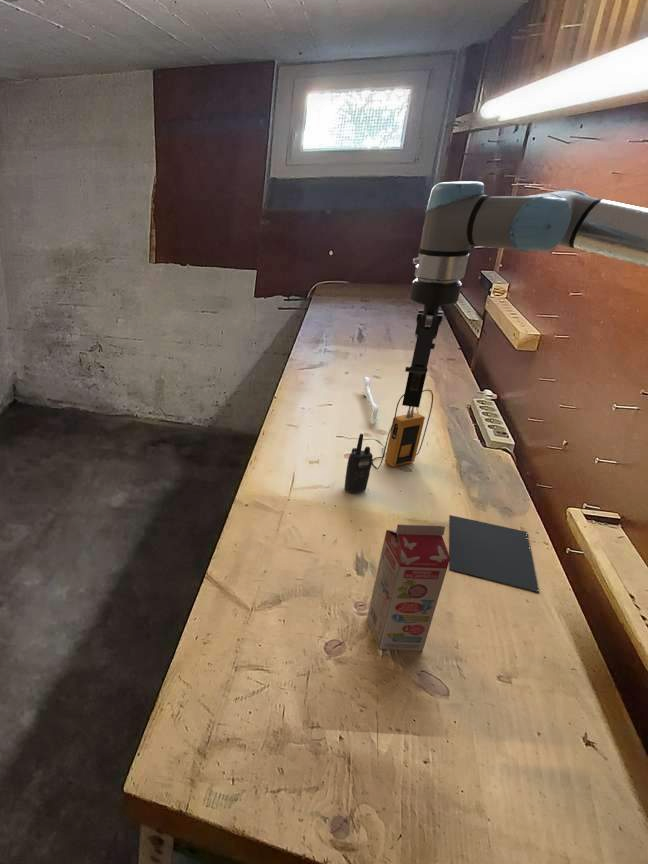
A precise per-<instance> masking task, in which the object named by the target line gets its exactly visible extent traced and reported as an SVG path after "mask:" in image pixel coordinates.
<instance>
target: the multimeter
mask: <svg viewBox="0 0 648 864" xmlns="http://www.w3.org/2000/svg"><path fill="white" fill-rule="evenodd" d="M426 391H428V392H430V394H431V403H430V409H429V413H428V417H427V421H426V425H425V428H423V427H424V423H425V419H426V416H424V415H422V414H420V413H417V412H415V407H411V406H408V410H407V413H406V414H403V415H402V414H401V415H397V411H398V407H399V404H400V402H401V400H402V398H404V394H402V395H401V396H400V398H399V399H398V402H397V404H396V407H395V413H394V417H393V418H392V423H391V426H390V429H389V430H388V434H387V437H386V441H385V445H384V446H385V447H384V446H382V448H381V450H382V451H381V452H382V456H377V457H374V458H372V464H371V466H372V467H374V468H375V469H377V470H378V469H380V467H381V466H382V463H383V460H384V463H386V464H387V465H389V466H390V467H392V468H396V467H398V466H402V465H407V464H412V463H414V462H415V461H416V456H418V455H419V454H420V451H421V448H422V445H423V444H424V443H423V442H424V439H425V436H426V432H427V429H428V425H429V421H430V417H431V413H432V410H433V404H434V394H433V391H432V390H431V389H423V391H422V393H424V392H426ZM423 429H424V432H423V434H422V431H423ZM421 435H423V436H422V438H421ZM420 440H421V443H420ZM419 444H420V445H419ZM376 459H381V460H380V464H379V466H378V467H377V466H375V465H374V463H373V462H374V460H376Z"/></svg>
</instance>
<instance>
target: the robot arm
mask: <svg viewBox="0 0 648 864" xmlns="http://www.w3.org/2000/svg"><path fill="white" fill-rule="evenodd" d="M424 214H425V216H424V223H423V228H422V235H421V239H420V245H419V249H418V256H417V257H414V258H413V259H412V264H414V265H415V270H414V274H413V275H414V277H416V278H414V280H412V283H411V288H410V292H409V300H410V301H411V302H412V303H415V304H418V305H420V304H422V305H423V309H418V311H417V315H416V319H415V324H416V326H415V332H414V337H415V338H416V340H415V346H414V349H413V354H412V360H411V365H410V366H405V368H404V369H405V370H404V372H405V373H408V374H407V379H406V383H405V389H404V394H403V395H404V396H403V397H402V398H403V399H402V405H401V406H404V407H409V406H411V408H412V407H414V408H417V409H418V408H420V404H421V400H422V397H423V396H422V395H423V392H422V391H424V387H425V383H426V382H425V381H426V378H427V373H428V371H429V368H428V365H429V361H430V356H431V352H432V350H435V346H436V343H434V340H436V338H437V337H438V333H439V328H440V326H441V324H442V321H443V314H444V311H442V310H441V311H439V309H440V307H441V306H452V305H456V304H457V303H458V302H459V298H460V294H461V289H462V285H463V283H462V282H461V281H460V280H462V279H463V278H465V275H466V269H467V266H468V262H469V261H468V260H469V257H470V252H471V251H470V250H471V247H486V248H494V249H495V248H497V249H507V250H517V251H520V252H526V253H527V252H531V251H532V252H548V251H551V250H553V249H555V248H556V247H557V246H563V247H567V248H571V249H575V250H580V251H583V252H587V253H591V254H595V255H599V256H602V257H606V258H610V259H612V260H613V259H614V260H617V261H621V262H625V263H629V264H632V265H636V266H640V267H643V268H647V269H648V207H643V206H637V205H631V204H626V203H622V202H617V201H614V200H613V201H612V200H608V199H601V198H597V197H592V196H589V195H588V194H586V193H585V192H583V191H579V190H574V189H573V190H572V189H561V190H555V191H552V192H551V191H550V192H545V193H539V194H531V195H523V196H521V195H520V196H517V195H516V196H515V195H514V196H513V195H512V196H511V195H510V196H507V195H506V196H504V195H503V196H500V195H499V196H494V195H487V194H485V184H484V182H481V181H444V182H439V183H437V184H435V185H434V186H433V187H432V189H431V192H430V196H429V199H428V203H427V206H426V210H425V212H424Z"/></svg>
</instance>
